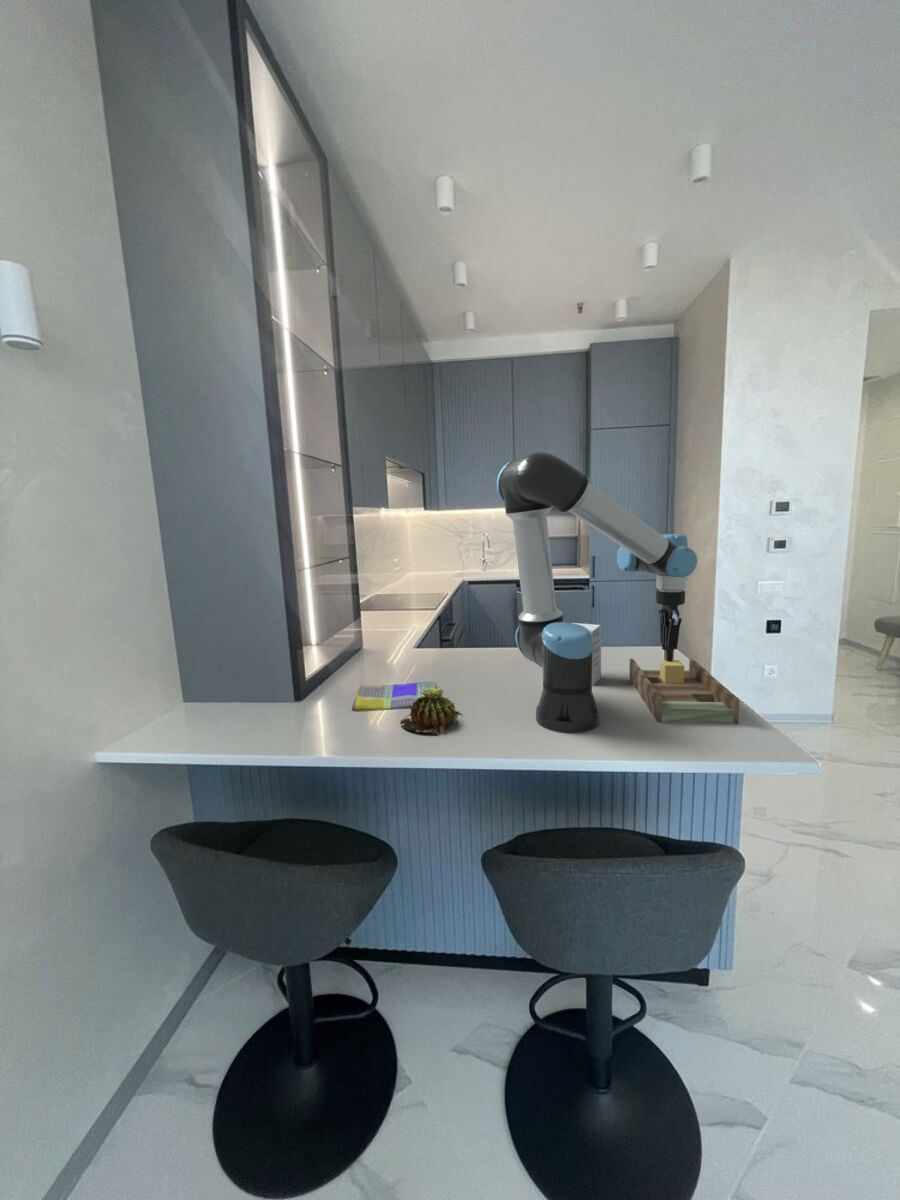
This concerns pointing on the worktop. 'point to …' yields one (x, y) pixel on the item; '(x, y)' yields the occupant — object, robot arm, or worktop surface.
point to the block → (672, 671)
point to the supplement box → (595, 650)
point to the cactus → (431, 713)
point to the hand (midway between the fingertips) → (667, 670)
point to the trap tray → (685, 696)
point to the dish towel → (389, 696)
